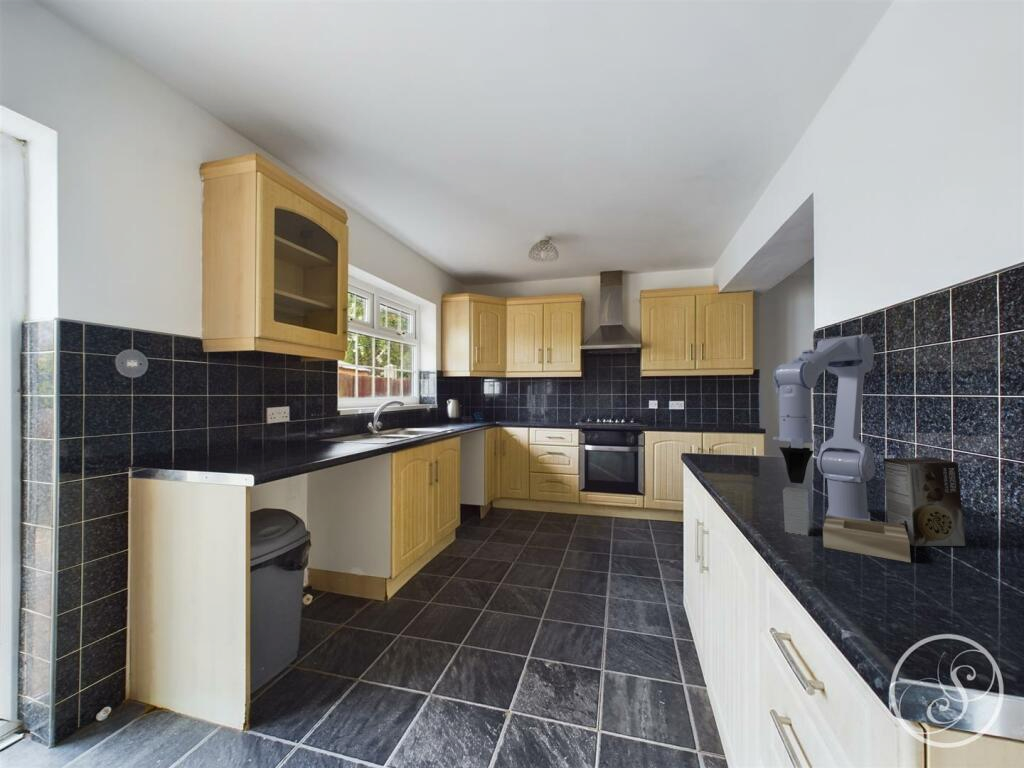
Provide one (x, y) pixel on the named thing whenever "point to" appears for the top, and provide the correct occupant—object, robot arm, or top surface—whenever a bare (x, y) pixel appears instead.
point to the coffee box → (925, 500)
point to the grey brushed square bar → (796, 511)
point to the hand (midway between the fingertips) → (795, 481)
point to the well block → (866, 537)
